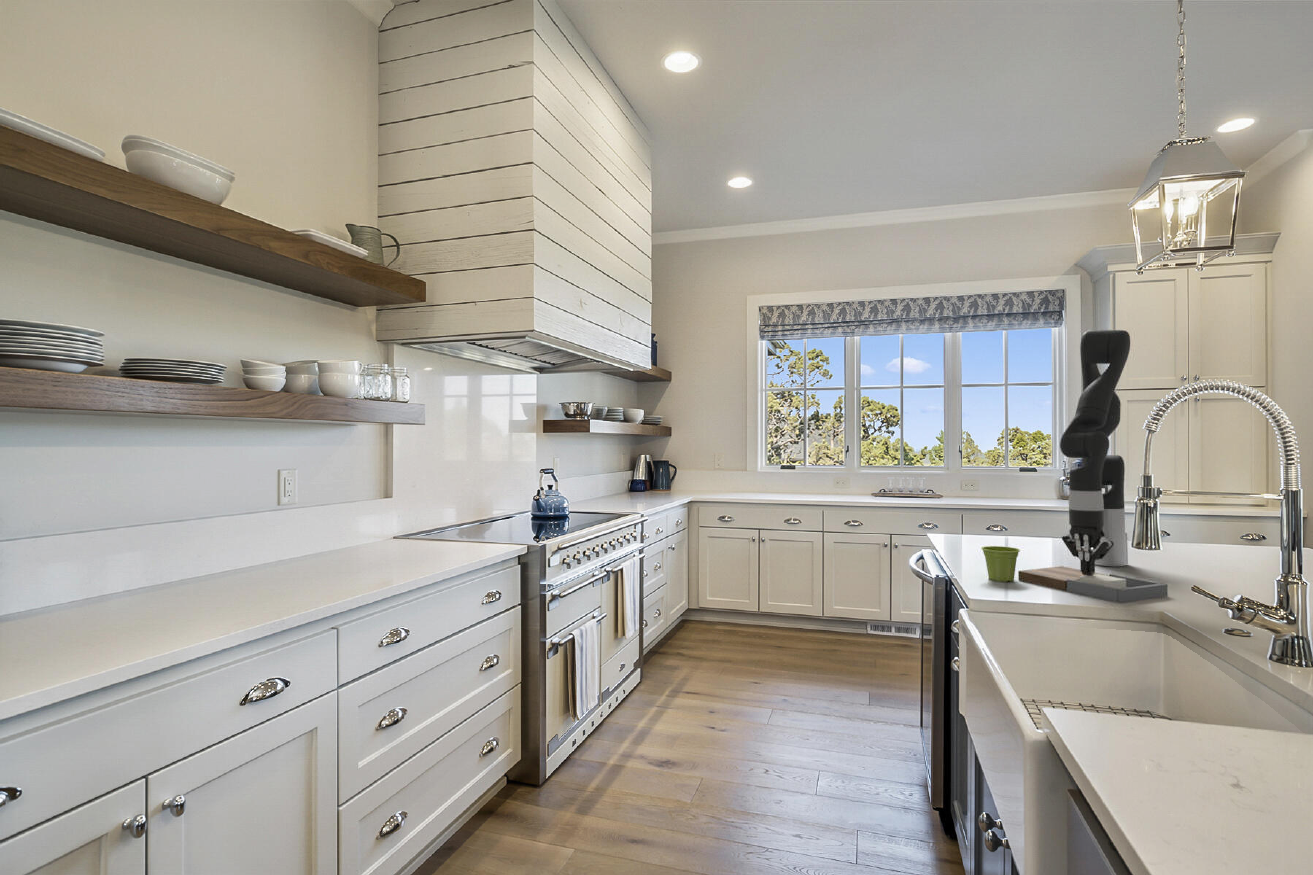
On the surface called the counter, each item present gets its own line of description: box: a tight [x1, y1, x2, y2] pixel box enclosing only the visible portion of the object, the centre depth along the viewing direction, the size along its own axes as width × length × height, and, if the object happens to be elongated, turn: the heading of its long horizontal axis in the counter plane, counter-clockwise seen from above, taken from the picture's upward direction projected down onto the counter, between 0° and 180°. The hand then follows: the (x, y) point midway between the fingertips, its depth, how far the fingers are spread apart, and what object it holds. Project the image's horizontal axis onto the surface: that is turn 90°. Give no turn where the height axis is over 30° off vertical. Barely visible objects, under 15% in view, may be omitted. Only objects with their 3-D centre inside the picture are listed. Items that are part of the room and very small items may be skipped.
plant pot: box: [981, 545, 1021, 583], centre depth 178 cm, size 9×9×9 cm
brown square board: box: [1017, 565, 1110, 592], centre depth 174 cm, size 16×14×2 cm
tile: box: [1079, 573, 1126, 589], centre depth 163 cm, size 7×7×2 cm
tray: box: [1066, 573, 1169, 604], centre depth 160 cm, size 16×14×3 cm
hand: (1087, 574), depth 167 cm, fingers closed
